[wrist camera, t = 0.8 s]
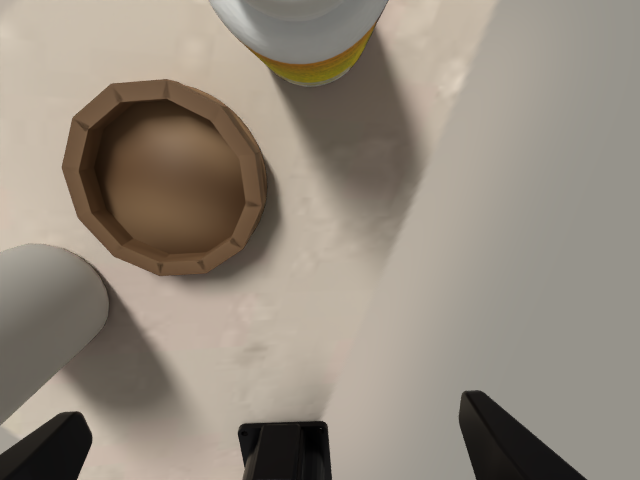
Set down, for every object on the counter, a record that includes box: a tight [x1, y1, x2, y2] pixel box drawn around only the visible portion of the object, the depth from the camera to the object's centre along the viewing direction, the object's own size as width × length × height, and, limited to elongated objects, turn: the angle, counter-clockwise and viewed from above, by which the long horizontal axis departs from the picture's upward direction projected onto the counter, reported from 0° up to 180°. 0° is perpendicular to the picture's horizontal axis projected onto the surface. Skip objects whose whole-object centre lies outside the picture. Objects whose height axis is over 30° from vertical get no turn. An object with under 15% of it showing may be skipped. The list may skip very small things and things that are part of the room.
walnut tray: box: [62, 79, 267, 276], centre depth 18 cm, size 10×10×2 cm
